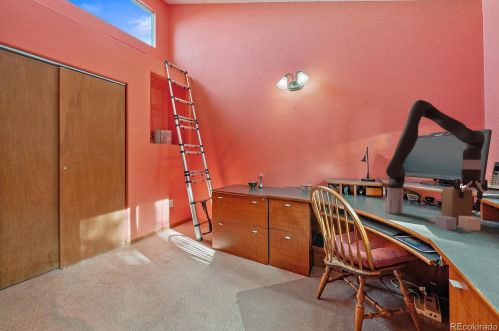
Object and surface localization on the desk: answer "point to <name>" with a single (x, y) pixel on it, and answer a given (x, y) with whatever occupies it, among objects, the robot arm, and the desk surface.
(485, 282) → the desk surface
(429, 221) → the tile
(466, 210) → the wooden block
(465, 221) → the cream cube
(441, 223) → the mauve cube
